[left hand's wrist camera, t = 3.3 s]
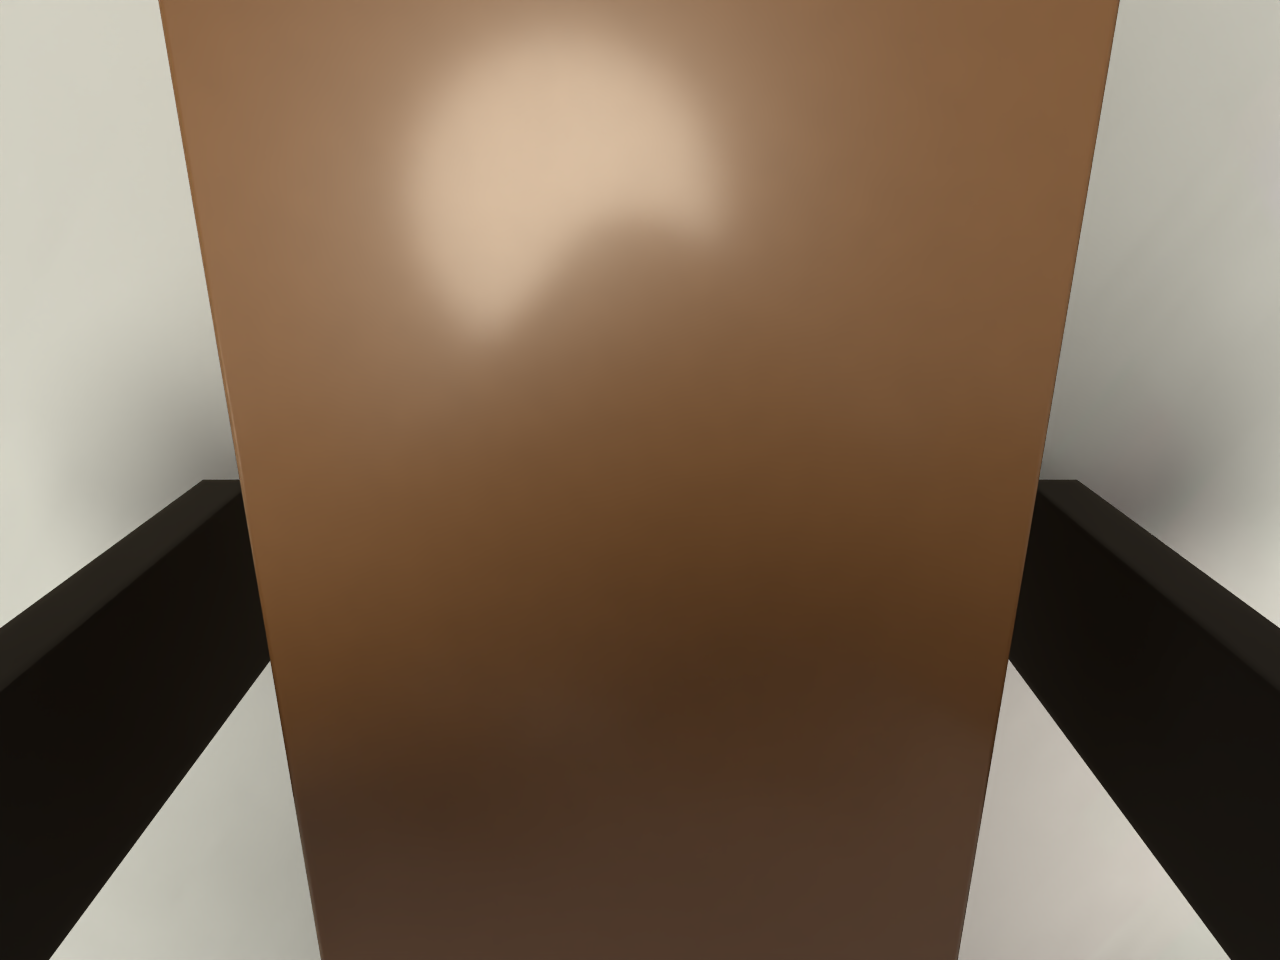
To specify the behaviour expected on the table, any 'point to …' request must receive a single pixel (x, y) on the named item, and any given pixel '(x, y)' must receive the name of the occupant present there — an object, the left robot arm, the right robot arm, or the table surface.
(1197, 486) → the table surface
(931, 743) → the bar
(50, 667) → the left robot arm
